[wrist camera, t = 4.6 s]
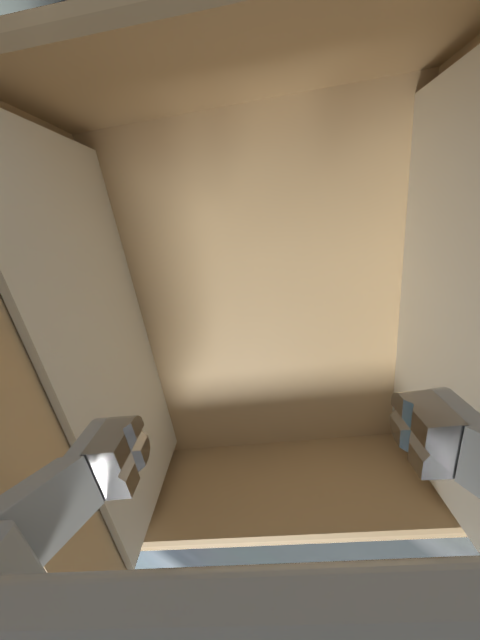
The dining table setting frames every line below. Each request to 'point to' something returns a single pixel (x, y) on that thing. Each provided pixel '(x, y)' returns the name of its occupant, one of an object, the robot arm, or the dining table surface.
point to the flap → (41, 450)
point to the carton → (248, 252)
